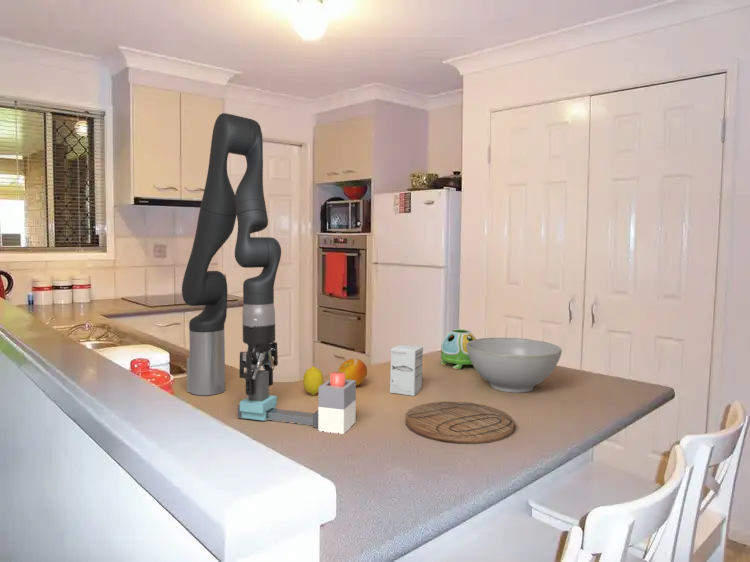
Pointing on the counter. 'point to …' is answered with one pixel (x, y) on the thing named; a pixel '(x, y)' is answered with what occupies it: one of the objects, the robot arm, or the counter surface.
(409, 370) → the supplement box
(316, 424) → the rail
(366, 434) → the counter surface
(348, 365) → the fruit
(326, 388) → the grey and white block
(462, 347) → the turtle holder
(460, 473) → the counter surface
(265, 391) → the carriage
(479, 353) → the decorative bowl
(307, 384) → the lemon
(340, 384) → the button
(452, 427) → the trivet
